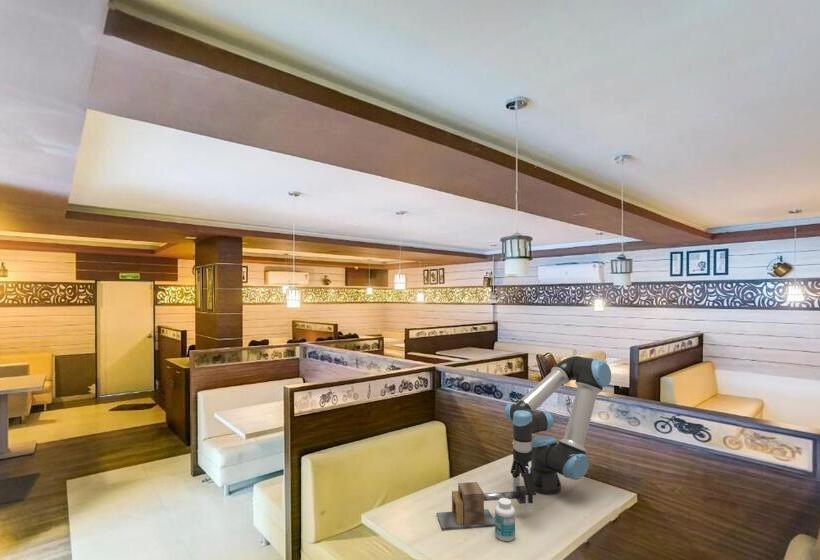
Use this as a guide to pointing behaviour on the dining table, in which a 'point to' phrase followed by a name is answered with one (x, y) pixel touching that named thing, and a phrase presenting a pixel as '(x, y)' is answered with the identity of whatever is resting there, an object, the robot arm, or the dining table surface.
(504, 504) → the pill bottle
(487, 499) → the shaft
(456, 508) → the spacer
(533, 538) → the dining table surface
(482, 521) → the bearing block
